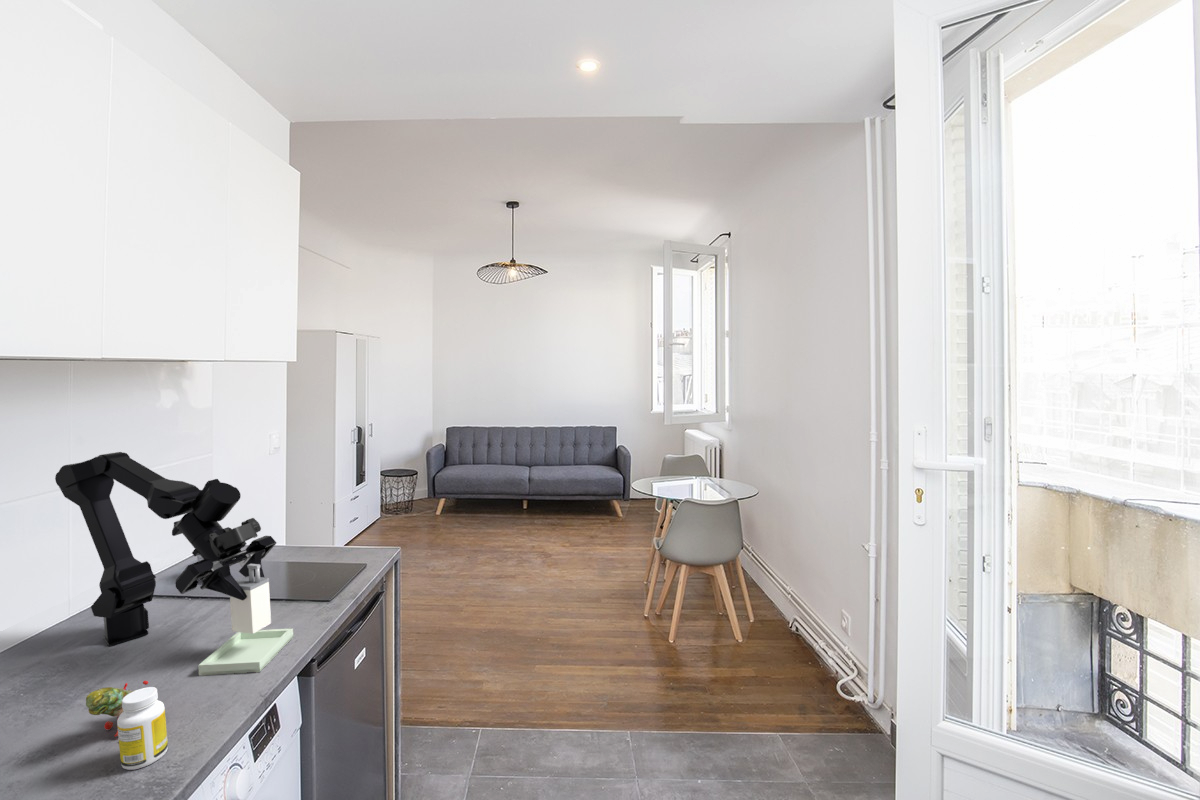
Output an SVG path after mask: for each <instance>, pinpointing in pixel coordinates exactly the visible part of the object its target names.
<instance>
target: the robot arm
mask: <svg viewBox="0 0 1200 800" xmlns="http://www.w3.org/2000/svg"><path fill="white" fill-rule="evenodd" d="M54 476H55V478H54V479H55V483H56V485H57V486H58V488H59V490H60V491H61V493H62V495H63V496H64V498H65V499H67V500H69V501H70V502H72V503H74V504H75V505H77V506H78V507H79V509H80V511H81V515H82V517H83V519H84V521H85V523H86V527H87V529H88V532H89V534H90V537H91V538H92V539H91V540H92V542H93V545H94V546H95V549H96V551H97V554H98V557H99V559H100V562H101V565H102V567H103V572H102V574H101V578H100V581H99V589H100V590H99V591H100V593H101V594H100V595H99V596H98V597H97V599H96V600H95V601H94V602H93V603H92V605H90V609H91V611H92V615H93V617H98V618H103V625H104V627H103V628H104V634H103V636H102V637H104V638H103V640H104V641H105V643H106V644H107V646H109V647H112V646H115V645H118V644H121V643H124V642H127V641H132V640H133V639H137V638H141V637H143V636H147V635H149V631H148V630H149V628H150V622H149V610H148V609H147V608H146V607H145V604H147V603H149V602H152V601H153V598H154V594H155V588H156V585H157V584H156V583H157V582H156V578H157V577H156V575H155V574H154V573H153V570H152V567H151V566H152V565H151V563H149V562H148V561H147V560H146V561H143V562H141V561H140V560H138V559H136V558H135V557H134V555H133V553H132V549H131V547H130V545H129V542H128V540H127V537H126V534H125V532H124V530H123V527H122V525H121V522H120V519H119V517H118V515H117V512H116V509H115V507H114V504H113V502H112V500H111V494H112V491H113V488H114V485H115V481H116V482H117V483H119V484H120V485H122V486H124V487H125V488H127V489H130V490H131V491H132V492H134V493H136V494H138V495H139V496H141V497H143V498H144V499H145V500H146V501H147V507H148V509H150V510H151V511H152V512H153V513H154V514H155V515H157V516H158V517H159V518H160V519H165V520H168V519H171V518H177V517H179V516H182V515H183V516H182V517H181V518H180V519H179V520H177V521H174V522H173V528H172V531H171V536H173V537H175V536H179V535H181V534H182V535H183V536H184V537H185V539H186V540H187V541H188V542H189V543H190V544H191V546H192V548H194V549H193V551H192V552H191V554H192V556H194V557H197V556H198V555H201V556H202V558H203V559H204V560H201V561H198V560H197V561H196V562H192V563H190V564H188V565H187V566H186V567H185V569H183V571H182V573H180V574H179V576H178V577H177V578H176V579H175V582H174V584H175V589H177V590H178V592H179V593H180V594H181V595H183V594H186V593H188V592H190V591H193V590H195V589H197V587H198V583H199V580H201V582H202V585H200V589H201V590H204V589H205V590H206V589H207V590H210V591H214V592H217V593H221V594H224V595H226V596H229V597H230V596H232V597H234V598H237V599H240V600H245V599H246V598H247V595H246V594H245V592H244V590H243V589H242V588H241V587H240V585H239V584H238V583H237V582H236V581H237V580H236V578H234V576H233V575H232V572H231V567H232V566H233V565H236V564H238V565H240V566H241V568H240V569H239V570H238V573H240V574H241V575H242V576H244V578H245V577H247V576H249V568H248V567H247V565H249V564H260V577H264V578H266V577H265V573H264V570H263V566H262V560H263V559H264V558H265V557H266V556H267V555H268V554H269V553H270V551H271V550H272V549H274V547H275V546H276V544H277V541H276V540H275V539H274V537H272V535H264V536H261V537H258V533H259V532H261V530H262V527H261V525H260V522H259V521H257V520H256V519H255V517H251V518H248V519H246V520H244V521H241V525H239V526H236V527H233V528H231V527H229V526H228V527H223V526H222V525H221V524H220V523H219V522H221V521H222V520H224V519H225V518H226V517H227V515H228V514H229V513H230V512H231V510H232V509H233V508H234V507H235V506H236V504H237V503H238V502H239V500H240V499H241V498H242V497H241V492H240V489H239V488H237V487H236V486H233V485H232V484H229V483H226V482H221V481H220V480H219V479H218V478H214V479H210V480H208V481H206V483H205V484H204V487H203V488H202V489H200V488H199V487H198V486H196V485H194V484H191V483H188V482H186V481H182V480H173V479H168V478H165V477H164V476H162V475H160V474H159V473H157V472H155V471H153V470H151V469H150V468H148V467H146V466H145V465H143V464H142V463H140V462H138V461H136V460H134V459H132V458H131V456H130V455H129V454H128V453H126V452H123V451H122V452H121V451H117V452H110V453H109V452H108V453H102V454H99V455H97V456H95V457H93V458H91V459H87V460H84V461H81V462H76V463H70V464H65V465H62V466H61V467H60V469H59V470H58V471H57V473H56V474H55V475H54ZM257 537H258V538H257ZM254 538H255V539H254ZM250 539H253V540H252V541H251V542H249V544H248V546H247V547H246V548H245V549H243V548H244V547H245V546H246V545H247V541H249V540H250ZM242 549H243V550H242ZM253 571H254V577H255V569H253Z"/></svg>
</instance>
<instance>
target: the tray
mask: <svg viewBox="0 0 1200 800" xmlns="http://www.w3.org/2000/svg"><path fill="white" fill-rule="evenodd" d="M291 639H292V640H293V639H294V628H275V629H260V630H259V631H257V632H255V633H253V634H250V633H242V632H235V634H233V635H232V637H230V638H229V639H227V641H225V642H224V643H223V644H222V645H221V646H219V647H218V648H217V649H216V650H215V651H213V652H212V653H211V654H210V655H208V656H207V657H206V658H205V659H204V660H203V661H201V662H200V663H199V664H198V665H197V667H198V676H200V677H201V676H216V675H232V674H233V675H235V674H234V673H237V674H247V672H256V673H261V672H262V671H263V670H264V669H265V668H266V667H267V666H268V665H267V664H269V663H271V662H272V661H273V659H275V657H276V656H277V655H278V654H279V653H280V652H281V651H282V650H283V649H284V648H285V647H286V646H287V645H288V644H289V643H290V642H291V641H292V640H291ZM290 640H291V641H290ZM289 641H290V642H289ZM288 642H289V643H288ZM287 643H288V644H287ZM286 644H287V645H286ZM285 645H286V646H285ZM284 646H285V647H284ZM283 647H284V648H283ZM282 648H283V649H282ZM281 649H282V650H281ZM280 650H281V651H280ZM279 651H280V652H279ZM278 652H279V653H278ZM266 665H267V666H266ZM265 666H266V667H265ZM264 667H265V668H264ZM263 668H264V669H263ZM262 669H263V670H262ZM261 670H262V671H261ZM260 671H261V672H260Z"/></svg>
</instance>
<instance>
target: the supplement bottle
mask: <svg viewBox="0 0 1200 800" xmlns="http://www.w3.org/2000/svg"><path fill="white" fill-rule="evenodd" d="M158 697H159V694H158V688H156V687H154V686H147V687H144V688H143V687H142V688H139V689H136V690H134V691H133V692H131V693H129V694H128V695H126V696H125V697H124V698H123V700H122V708H123V711H124V712H122V713H121V715H120V716H119V718H118V717H117V719H118V720H116V722H117V723H116V725H117V730H118V736H117V737H118V747H119V748H118V749H119V757H120V765H121V767H122V768H123V769H124V770H128V771H129V770H132V771H133V770H138V769H143V768H145V767H147V766H150V765H151V764H154V763H155V762H157V761H158V760H160V759H161V758H162V757H164V756H165V754H166V753H167V751H168V750H169V749H168V748H169V745H168V744H169V742H168V741H169V739H168V731H167V722H166V721H167V718H166V708H165V704H164V702H163V701H161V700H159V699H158Z"/></svg>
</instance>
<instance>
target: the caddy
mask: <svg viewBox="0 0 1200 800" xmlns="http://www.w3.org/2000/svg"><path fill="white" fill-rule="evenodd" d="M247 567H248V568H249V576H247V577H245V576H244V577H243V578H241V579H239V580H236V582H237V583H238V584H239V585H240V587H241V588H242V589H243V590H244V592H245V594H246V595H247V598H246V599H245V600H240V599H237V598H234V597H232V596H229V604H230V618H231V632H234V633H237V632H242V633H250V634H253V633H255V632H257V631H259V630H263V629H264V628H265V627H267V626H269V625H270V624H272V616H271V615H272V613H271V597H270V596H271V595H270V577H265V576H264V577H265V578H264V577H260V564H249V565H247ZM253 569H255V577H254V571H253Z"/></svg>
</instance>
